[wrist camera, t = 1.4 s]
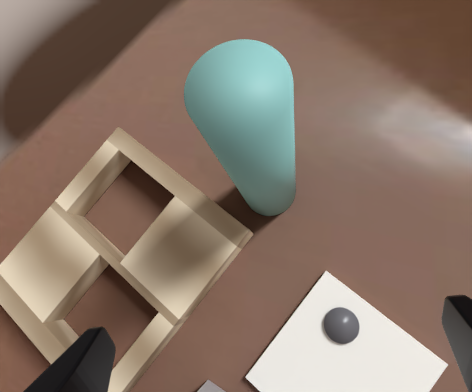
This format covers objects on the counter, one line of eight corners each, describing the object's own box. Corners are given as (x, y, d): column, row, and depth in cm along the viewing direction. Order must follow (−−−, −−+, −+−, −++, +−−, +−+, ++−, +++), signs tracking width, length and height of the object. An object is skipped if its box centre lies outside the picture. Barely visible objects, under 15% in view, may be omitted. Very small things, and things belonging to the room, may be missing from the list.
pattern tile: (359, 483, 18) (362, 490, 18) (246, 375, 21) (244, 378, 20) (445, 363, 19) (449, 365, 19) (325, 270, 21) (326, 270, 21)
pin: (274, 226, 23) (245, 161, 10) (233, 195, 24) (162, 101, 11) (306, 185, 23) (316, 72, 10) (265, 156, 24) (229, 22, 11)
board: (116, 408, 22) (98, 421, 20) (7, 284, 25) (-17, 284, 23) (253, 234, 23) (249, 230, 21) (131, 137, 26) (118, 126, 24)
